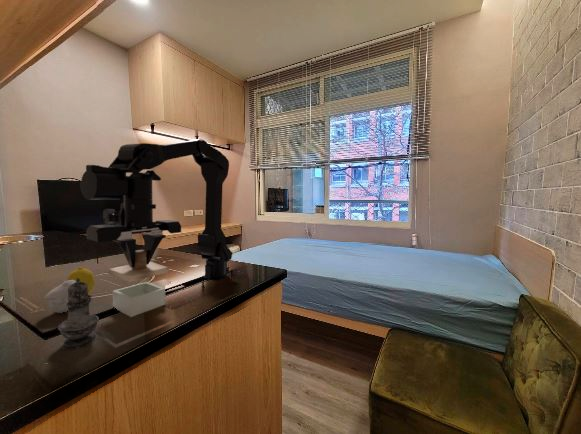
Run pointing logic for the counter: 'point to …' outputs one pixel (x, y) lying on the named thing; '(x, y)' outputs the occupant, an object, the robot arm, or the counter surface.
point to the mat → (165, 282)
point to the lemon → (83, 277)
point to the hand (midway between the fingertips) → (139, 265)
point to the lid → (138, 269)
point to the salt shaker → (78, 318)
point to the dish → (138, 298)
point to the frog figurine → (59, 297)
